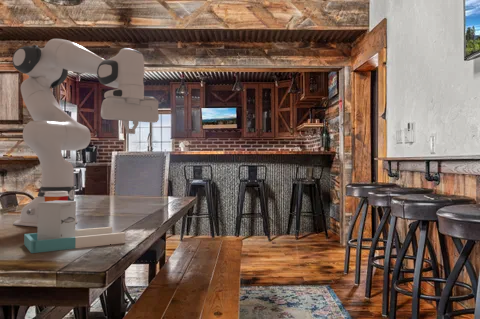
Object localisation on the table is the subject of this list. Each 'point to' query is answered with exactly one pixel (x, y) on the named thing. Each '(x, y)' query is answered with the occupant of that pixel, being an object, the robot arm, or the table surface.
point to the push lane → (75, 240)
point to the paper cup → (56, 196)
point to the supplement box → (56, 219)
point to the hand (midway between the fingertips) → (130, 133)
